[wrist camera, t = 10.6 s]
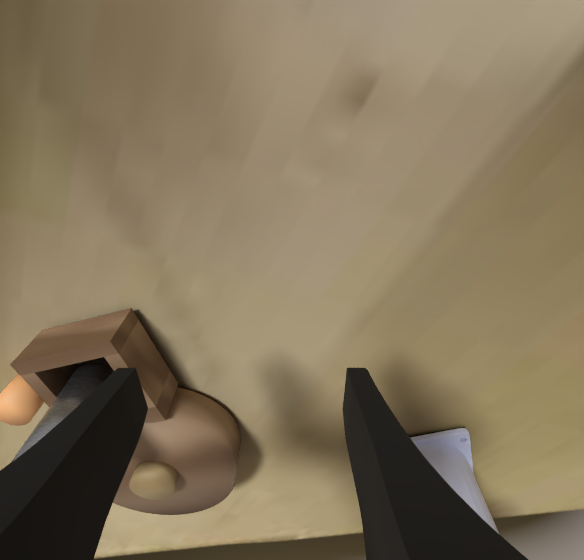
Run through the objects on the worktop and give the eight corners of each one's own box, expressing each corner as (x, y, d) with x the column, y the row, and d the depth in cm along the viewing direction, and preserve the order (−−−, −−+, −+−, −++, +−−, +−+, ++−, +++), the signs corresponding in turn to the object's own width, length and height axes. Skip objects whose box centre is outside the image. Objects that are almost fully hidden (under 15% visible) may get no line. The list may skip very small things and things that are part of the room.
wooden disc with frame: (259, 465, 30) (255, 517, 27) (138, 485, 32) (120, 537, 28) (168, 299, 22) (144, 344, 18) (9, 338, 23) (-40, 386, 20)
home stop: (64, 385, 26) (39, 421, 23) (36, 392, 26) (8, 428, 24) (43, 361, 25) (14, 396, 22) (13, 369, 25) (-19, 404, 23)
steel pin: (139, 372, 24) (78, 496, 17) (109, 390, 25) (40, 515, 18) (102, 344, 23) (21, 466, 16) (72, 364, 24) (-17, 488, 17)
